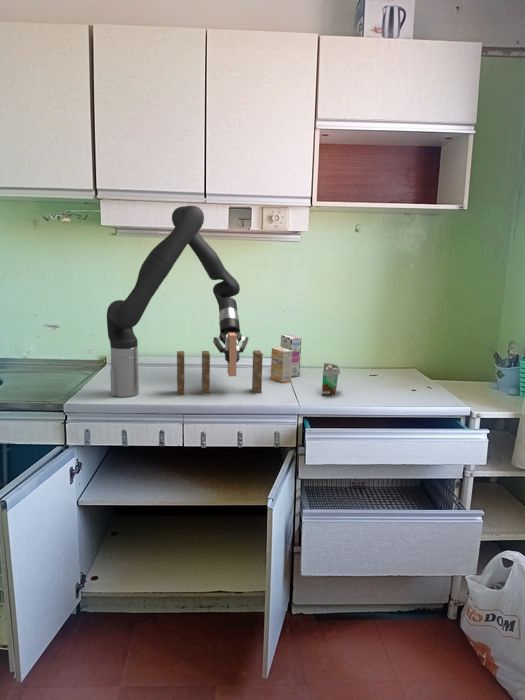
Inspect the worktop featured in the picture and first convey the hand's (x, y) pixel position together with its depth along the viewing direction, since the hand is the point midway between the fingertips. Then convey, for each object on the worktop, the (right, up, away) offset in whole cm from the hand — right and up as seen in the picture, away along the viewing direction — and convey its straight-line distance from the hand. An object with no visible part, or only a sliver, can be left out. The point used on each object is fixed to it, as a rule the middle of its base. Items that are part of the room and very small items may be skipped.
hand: (232, 361), depth 178 cm
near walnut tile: (-19, -12, +1) cm, 22 cm away
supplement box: (+18, -9, +23) cm, 30 cm away
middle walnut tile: (-10, -12, +3) cm, 16 cm away
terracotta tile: (-1, -5, +3) cm, 6 cm away
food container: (+36, -12, +7) cm, 39 cm away
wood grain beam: (+9, -11, +6) cm, 16 cm away
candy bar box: (+22, -6, +34) cm, 41 cm away
